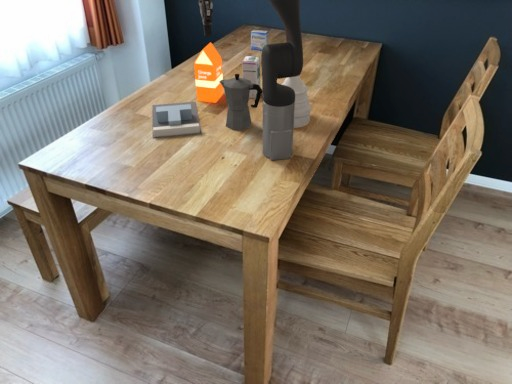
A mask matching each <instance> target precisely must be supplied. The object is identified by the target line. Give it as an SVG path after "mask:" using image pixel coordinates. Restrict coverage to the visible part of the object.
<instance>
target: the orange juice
mask: <svg viewBox="0 0 512 384" xmlns="http://www.w3.org/2000/svg"><path fill="white" fill-rule="evenodd" d="M222 61H223V58H222V57H221V55H220V53H219V52H218V50H217V49H216V48H215V46H214V44H213V43H212V42H209V43H208V44H207V45H206V46H204V47H203V49H202V50H201V51H200V53H199V55H198V56H197V58H196V59H195V61H194V63H193V64H194V65H193V67H194V68H193V69H194V79H195V80H194V82H195V89H196V100H197V101H198V102H205V103H214V104H216V103H217V102H218V101H219V100H220V99H221V98H222V96H223V95H224V88H223V86H222V84H221V83H220V82H219V81H221V80H224V77H223V62H222Z"/></svg>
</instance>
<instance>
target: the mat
mask: <svg viewBox="0 0 512 384" xmlns="http://www.w3.org/2000/svg"><path fill="white" fill-rule="evenodd" d="M185 104H191V111H192V119H191V120H181V125H184V124H195V123H199V127H200V133H191V134H181V135H170V136H159V137H154V133H153V132H152V139H154V140H155V139H165V138H176V137H185V136H186V137H187V136H195V135H196V136H197V135H202V134H203V133H202V128H201V123H200V119H199V113H198V107H197V102H196V101H185V102H173V103H172V102H171V103H163V104H162V103H161V104H153V105H152V108H151V109H152V128H153V127H162V126H169V121H168V122H157V115H156V107H161V106H173V105H185Z"/></svg>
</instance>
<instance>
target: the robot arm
mask: <svg viewBox="0 0 512 384" xmlns="http://www.w3.org/2000/svg"><path fill="white" fill-rule="evenodd" d="M269 3H270V4H271V5H272V7H273V9H274V10H275V11H276V12H275V13H277V15H278V17H279V18H280V20H281V22H282V24H283V27H284V31H285V33H284V34H285V38H286V39H285V40H286V42H277V43H269V44H268V45H265V46H264V47H263V49H262V51H261V57H260V67H261V86H262V87H261V89H262V154H263V156H265V157H266V158H268V159H270V161H277V160H278V161H279V160H287V159H292V158H291V157H292V155H293V147H294V145H293V144H294V129H295V128H294V110H295V91H294V90H293V89H292V88H290V87H288V86H285V85H281V84H282V83H278V79H286V78H288V77H295V76H298V75H299V76H300V75H301V74H302V72H303V67H304V51H303V49H304V48H303V37H302V26H301V11H300V9H301V5H300V3H301V2H300V0H269ZM198 5H199V13H200V15H201V20H202V24H203V33H204V37H205V38H208V37H212V35H213V34H212V24H213V13H214V12H213V11H214V10H213V7H214V6H213V5H214V4H213V1H212V0H198Z"/></svg>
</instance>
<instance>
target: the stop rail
mask: <svg viewBox="0 0 512 384" xmlns="http://www.w3.org/2000/svg"><path fill="white" fill-rule="evenodd" d="M200 127H201V126H200ZM200 127H199V123H195V124H184V125H173V126H162V127H153V126H152V134H153V133H154V137H159V136H170V135H181V134H191V133H200Z"/></svg>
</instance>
